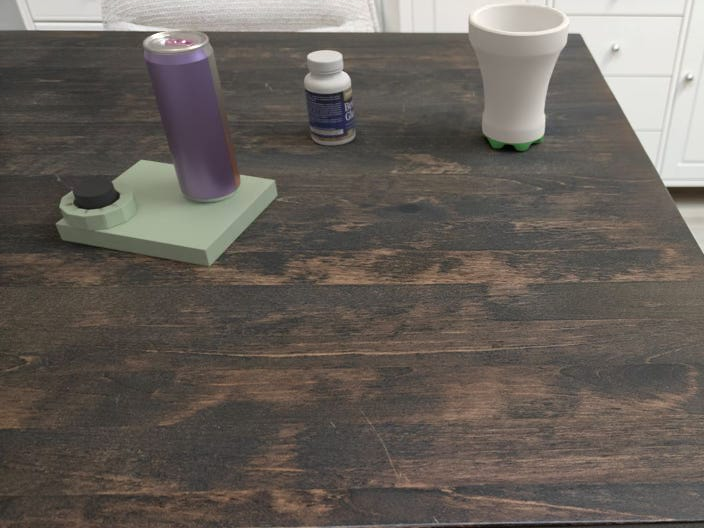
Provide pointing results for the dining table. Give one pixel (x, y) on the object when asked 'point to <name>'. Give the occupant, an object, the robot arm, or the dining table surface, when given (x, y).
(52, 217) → the dining table surface
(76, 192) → the button
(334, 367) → the dining table surface
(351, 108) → the pill bottle
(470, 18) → the cup
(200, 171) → the purple tall cylinder
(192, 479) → the dining table surface
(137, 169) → the scale
